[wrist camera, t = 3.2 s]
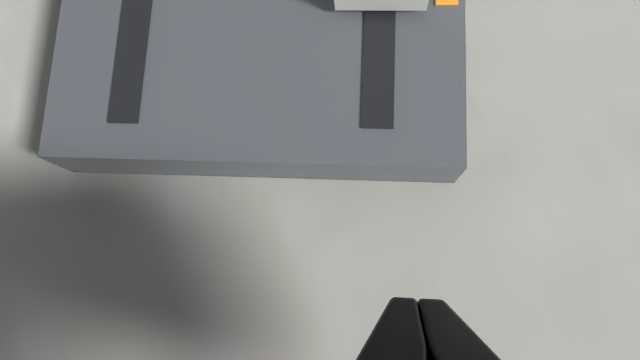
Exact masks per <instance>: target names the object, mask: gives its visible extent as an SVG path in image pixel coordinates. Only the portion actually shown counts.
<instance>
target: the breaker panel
mask: <svg viewBox="0 0 640 360" xmlns="http://www.w3.org/2000/svg"><path fill="white" fill-rule="evenodd" d="M38 157H40V158H42V159H44V160H47V161H49V162H51V163H54V164H56V165H59V166H61V167H63V168H66V169H68V170H70V171H73V172H94V173H129V174H164V175H199V176H234V177H269V178H304V179H339V180H374V181H409V182H444V183H454V182H455V181H456V180H457V179H458V178H459V176H460V175H461V174H462V173H463V172H464V171H465V169H466V168H467V143H466V46H465V0H429V2H428V7H427V11H361V10H335V5H334V0H61V7H60V13H59V20H58V26H57V33H56V39H55V46H54V53H53V59H52V66H51V72H50V79H49V85H48V92H47V98H46V105H45V112H44V118H43V125H42V131H41V138H40V144H39V151H38Z"/></svg>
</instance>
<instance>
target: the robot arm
mask: <svg viewBox="0 0 640 360" xmlns="http://www.w3.org/2000/svg"><path fill="white" fill-rule="evenodd" d="M356 360H501V359H500V358H499V357H498V356H497V355H496V354H495V353H494V352H493V351H492V350H491V349H490V348H489V347H488V346H487V345H486V344H485V343H484V342H483V341H482V340H481V339H480V338H479V337H478V336H477V335H476V334H475V332H474V331H473V330H472V329H471V328H470V327H469V326H468V325H467V324H466V323H465V322H464V321H463V320H462V319H461V318H460V317H459V316H458V315H457V314H456V313H455V312H454V311H453V310H452V309H451V308H450V307H449V305H448V304H447V303H446V302H444V301H443V300H438V299H420V300H418V302H417V301H416V300H415V299H414V298H399V297H394V298H392V299H391V300H390V301H389V303H388V305H387V306H386V308H385V310H384V312H383V313H382V315H381V317H380V319H379V320H378V322H377V324H376V326H375V327H374V329H373V331H372V333H371V334H370V336H369V338H368V340H367V341H366V343H365V345H364V347H363V348H362V350H361V352H360V354H359V355H358V357H357V359H356Z"/></svg>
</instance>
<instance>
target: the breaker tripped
mask: <svg viewBox="0 0 640 360" xmlns="http://www.w3.org/2000/svg"><path fill="white" fill-rule="evenodd" d="M428 2H429V0H334V5H335V10H361V11H427V7H428Z"/></svg>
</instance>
